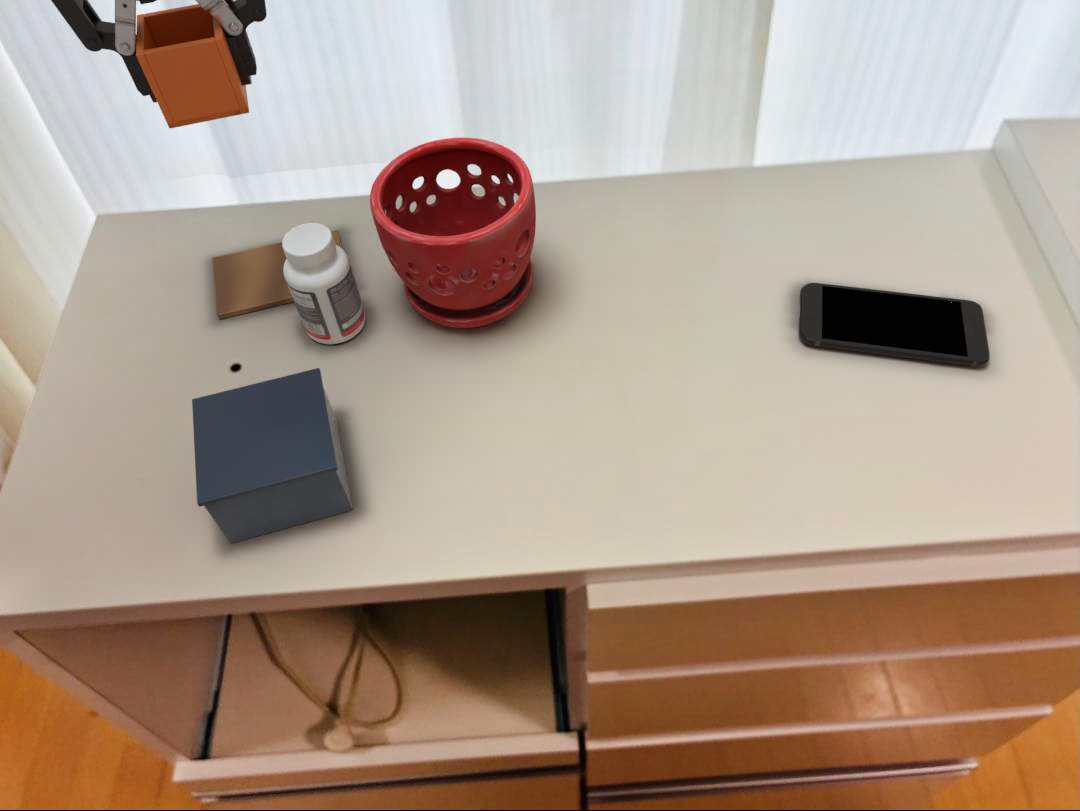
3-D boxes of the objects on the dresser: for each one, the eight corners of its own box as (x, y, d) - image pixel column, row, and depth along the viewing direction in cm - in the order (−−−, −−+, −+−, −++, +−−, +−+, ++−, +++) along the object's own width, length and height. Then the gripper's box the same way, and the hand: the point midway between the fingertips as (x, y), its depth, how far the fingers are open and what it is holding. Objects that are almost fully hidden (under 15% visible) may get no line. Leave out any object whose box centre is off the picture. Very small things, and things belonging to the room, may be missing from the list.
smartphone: (799, 285, 73) (801, 277, 73) (979, 306, 71) (983, 298, 70) (796, 346, 69) (799, 339, 68) (988, 371, 66) (992, 364, 66)
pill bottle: (359, 295, 75) (333, 209, 67) (372, 336, 72) (347, 250, 64) (300, 312, 74) (267, 226, 66) (311, 353, 71) (278, 269, 63)
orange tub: (169, 129, 58) (135, 55, 54) (168, 87, 61) (136, 14, 57) (249, 112, 59) (222, 38, 54) (244, 72, 62) (218, 0, 58)
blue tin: (227, 547, 60) (197, 504, 55) (220, 446, 65) (191, 399, 60) (356, 511, 61) (337, 466, 56) (338, 415, 67) (319, 367, 62)
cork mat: (219, 319, 74) (216, 315, 73) (214, 262, 79) (212, 257, 78) (351, 288, 76) (350, 283, 75) (339, 234, 80) (337, 229, 80)
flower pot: (414, 239, 79) (392, 130, 70) (549, 249, 78) (545, 138, 68) (378, 339, 72) (347, 231, 62) (527, 352, 70) (518, 243, 60)
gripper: (-55, -145, 43) (98, 137, 56) (225, -187, 45) (308, 95, 58) (-35, -191, 47) (102, 80, 61) (218, -228, 49) (297, 43, 63)
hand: (203, 86), depth 59 cm, fingers closed on orange tub, 5 cm apart
